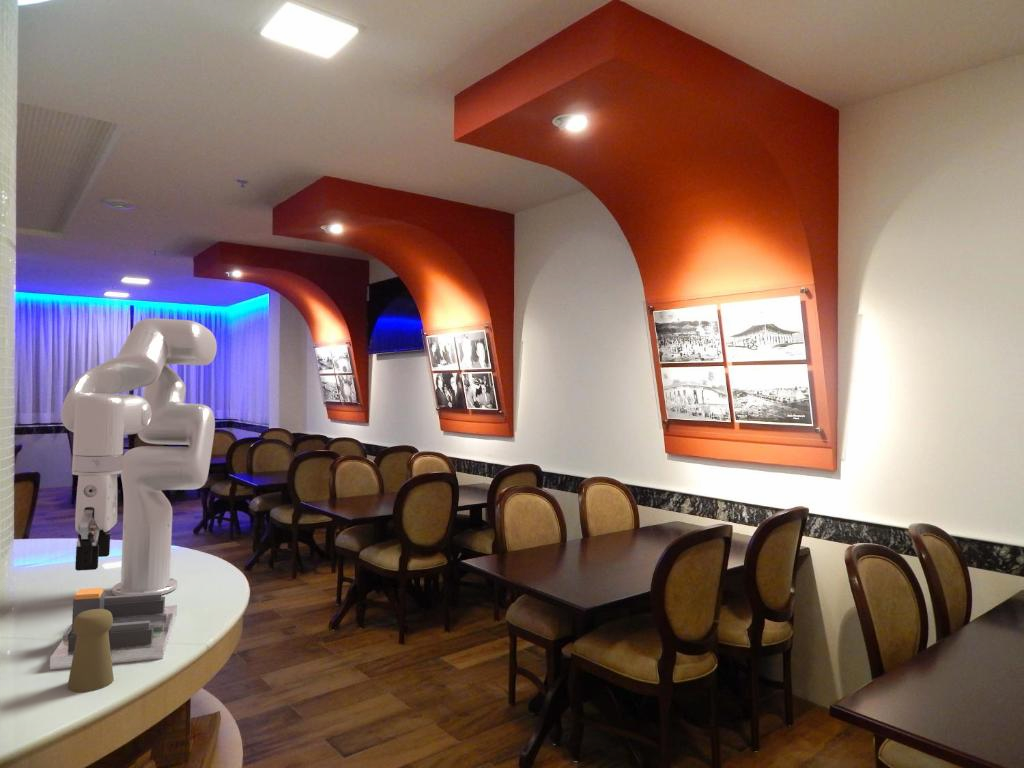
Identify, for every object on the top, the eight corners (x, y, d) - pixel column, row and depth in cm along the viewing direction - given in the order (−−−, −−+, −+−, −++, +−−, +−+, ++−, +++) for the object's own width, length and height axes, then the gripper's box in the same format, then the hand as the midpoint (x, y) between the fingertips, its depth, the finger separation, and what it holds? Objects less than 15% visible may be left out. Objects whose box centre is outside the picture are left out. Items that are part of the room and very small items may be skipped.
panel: (82, 622, 127) (83, 608, 127) (176, 615, 133) (177, 601, 133) (49, 669, 106) (50, 652, 106) (162, 658, 112) (163, 641, 112)
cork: (91, 694, 99) (94, 619, 99) (57, 689, 100) (59, 615, 100) (123, 677, 105) (125, 606, 105) (90, 672, 106) (92, 603, 106)
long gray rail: (93, 614, 126) (93, 596, 126) (164, 608, 130) (165, 591, 130) (67, 651, 109) (68, 630, 109) (151, 643, 113) (151, 623, 113)
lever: (77, 627, 119) (78, 588, 119) (103, 625, 120) (104, 587, 120) (71, 635, 115) (73, 595, 115) (98, 632, 116) (100, 593, 116)
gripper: (112, 470, 111) (107, 573, 111) (130, 460, 127) (126, 551, 127) (59, 470, 108) (54, 576, 108) (84, 460, 125) (79, 553, 124)
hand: (93, 562), depth 117 cm, fingers open, 9 cm apart
